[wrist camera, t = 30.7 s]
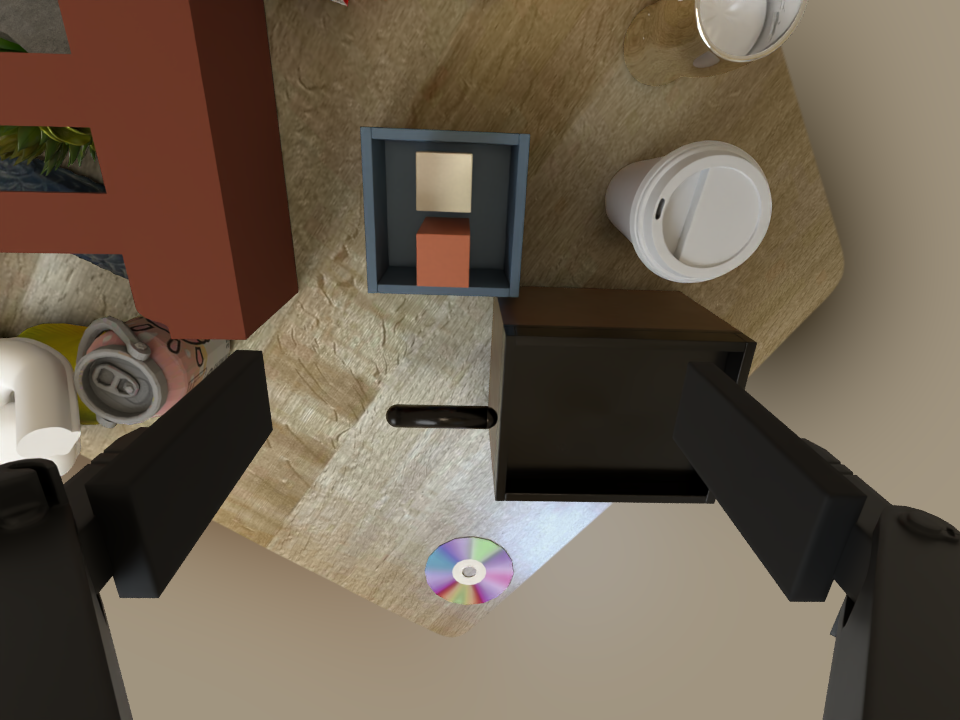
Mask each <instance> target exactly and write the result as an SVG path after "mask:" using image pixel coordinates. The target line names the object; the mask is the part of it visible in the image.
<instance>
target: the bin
mask: <svg viewBox="0 0 960 720" xmlns="http://www.w3.org/2000/svg"><path fill="white" fill-rule="evenodd" d="M360 132H361V154H362V175H363V197H364V218H365V239H366V261H367V282H368V293H391V294H424V295H457V296H489V297H519V286H520V272H521V258H522V244H523V230H524V216H525V201H526V187H527V173H528V159H529V145H530V134H519V133H496V132H474V131H451V130H428V129H405V128H383V127H360ZM417 151H443V152H467V153H472V154H473V167H472V198H471V212H470V213H464V212H437V211H417V210H416V152H417ZM426 217H448V218H469V224H470V263H469V287H468V288H462V287H430V286H417V253H416V234H417V232H418V230H419V228H420V227H421V225H422V223H423V221H424V219H425V218H426Z"/></svg>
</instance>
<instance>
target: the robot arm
mask: <svg viewBox="0 0 960 720" xmlns="http://www.w3.org/2000/svg"><path fill="white" fill-rule="evenodd" d="M272 430H273V428H272V420H271V413H270V406H269V398H268V391H267V383H266V376H265V369H264V361H263V354H262V351H254V350H236V351H235V352H234V353H232V354H231V355H230V356H229V357H228V358H227V359H226V360H224V361H223V362H222V363H221V364H220V365H219V366H218V367H217V368H215V369H214V370H213V371H212V372H211V373H210V374H209V375H208V376H206V377H205V378H204V379H203V380H202V381H201V382H200V383H198V384H197V385H196V386H195V387H194V388H193V389H192V390H191V391H189V392H188V393H187V394H186V395H185V396H184V397H183V398H181V399H180V400H179V401H178V402H177V403H176V404H175V405H174V406H172V407H171V408H170V409H169V410H168V411H167V412H166V413H165V414H163V415H162V416H161V417H160V418H159V419H158V420H157V421H155V422H154V423H153V424H152V425H151V426H150V427H140V428H138V429H136V430H134V431H132V432H130V433H128V434H126V435H124V436H122V437H120V438H118V439H117V440H116V441H115V442H114V443H112V444H111V445H110V446H109V447H108V448H106V449H105V450H104V453H100V454H99V455H98V456H97V457H96V458H94V459H93V460H92V461H91V464H87V465H86V466H85V467H84V468H83V469H81V470H80V471H79V472H78V473H77V474H76V475H74V476H73V477H72V478H71V479H70V480H68V481H67V482H66V483H65V484H63V482H62V479H61V476H60V473H59V470H58V467H57V465H56V464H55V463H54V462H53V461H52V460H48V459H43V458H31V459H22V460H17V461H12V462H7V463H4V464H2V465H0V720H133V718H132V714H131V710H130V706H129V703H128V699H127V695H126V691H125V687H124V683H123V679H122V675H121V672H120V668H119V664H118V660H117V656H116V653H115V648H114V644H113V640H112V637H111V633H110V629H109V625H108V621H107V617H106V613H105V610H104V606H103V602H102V599H101V597H100V593H99V592H100V590H101V589H102V588H103V587H104V586H105V584H106V583H107V582H108V581H109V579H110V578H111V577H112V576H113V578H114V581H115V585H116V588H117V591H118V594H119V597H120V598H159V597H160V595H161V594H162V592H163V591H164V589H165V588H166V586H167V585H168V583H169V582H170V580H171V579H172V577H173V576H174V575H175V573H176V572H177V570H178V569H179V567H180V566H181V564H182V563H183V561H184V560H185V558H186V557H187V555H188V554H189V553H190V551H191V550H192V548H193V547H194V545H195V544H196V542H197V541H198V539H199V538H200V536H201V535H202V533H203V532H204V530H205V529H206V528H207V526H208V525H209V523H210V522H211V520H212V519H213V517H214V516H215V514H216V513H217V511H218V510H219V508H220V507H221V505H222V504H223V503H224V501H225V500H226V498H227V497H228V495H229V494H230V492H231V491H232V489H233V488H234V486H235V485H236V483H237V482H238V480H239V479H240V478H241V476H242V475H243V473H244V472H245V470H246V469H247V467H248V466H249V464H250V463H251V461H252V460H253V458H254V457H255V455H256V454H257V453H258V451H259V450H260V448H261V447H262V445H263V444H264V442H265V441H266V439H267V438H268V436H269V435H270V433H271V432H272ZM672 438H673V440H674V441H675V442H676V444H677V445H678V447H679V448H680V449H681V451H682V452H683V454H684V455H685V456H686V458H687V459H688V461H689V462H690V463H691V465H692V466H693V468H694V469H695V470H696V472H697V473H698V474H699V476H700V477H701V479H702V480H703V481H704V483H705V484H706V486H707V487H708V488H709V490H710V491H711V493H712V494H713V495H714V497H715V498H716V500H717V501H718V502H719V504H720V505H721V506H722V508H723V509H724V511H725V512H726V513H727V515H728V516H729V518H730V519H731V520H732V522H733V523H734V525H735V526H736V527H737V529H738V530H739V532H741V534H742V536H743V537H744V539H745V540H746V541H747V543H748V544H749V545H750V547H751V548H752V550H753V551H754V552H755V554H756V555H757V557H758V558H759V559H760V561H761V562H762V563H763V565H764V566H765V568H766V569H767V570H768V572H769V573H770V575H771V576H772V577H773V579H774V580H775V581H776V583H777V584H778V586H779V587H780V589H781V590H782V591H783V593H784V594H785V596H786V597H787V598H788V600H789V601H790V602H825V600H826V597H827V595H828V592H829V590H830V587H831V585H832V582H833V580H835V581H836V582H837V583H838V584H839V586H840V587H841V588H842V589H843V590H844V592H845V593H846V594H847V595H846V597H845V599H844V602H843V604H842V607H841V609H840V611H839V614H838V616H837V618H836V621H835V623H834V625H833V628H832V630H831V632H830V635H832V636H835V637H836V641H835V648H834V653H833V660H832V666H831V672H830V679H829V684H828V690H827V696H826V702H825V709H824V715H823V720H960V532H959V531H958V530H957V529H956V528H955V527H954V526H952V525H951V524H949V523H947V522H946V521H944V520H942V519H941V518H939V517H937V516H934V515H932V514H929V513H927V512H925V511H922V510H919V509H915V508H911V507H907V506H896V505H892V504H890V503H889V502H888V501H886V499H884V498H883V497H882V496H881V495H879V494H878V493H877V492H876V491H875V490H873V489H872V488H871V487H870V486H869V485H868V484H866V483H865V482H864V481H863V480H862V479H860V478H859V477H858V476H857V475H853V472H852V471H851V470H850V469H848V468H847V467H846V466H845V465H842V464H841V463H840V461H839V460H838V459H836V458H835V457H834V456H833V455H832V454H830V453H829V452H828V451H827V450H825V449H823V448H821V447H820V446H818V445H816V444H814V443H812V442H810V441H809V440H807V439H804V438H800V437H798V436H797V435H796V434H795V433H794V432H793V431H791V430H790V429H789V428H788V427H787V426H786V425H785V424H783V423H782V422H781V421H780V420H779V419H778V418H776V417H775V416H774V415H773V414H772V413H771V412H769V411H768V410H767V409H766V408H765V407H764V406H762V405H761V404H760V403H759V402H758V401H757V400H755V399H754V398H753V397H752V396H751V395H750V394H749V393H747V392H746V391H745V390H744V389H743V388H742V387H740V386H739V385H738V384H737V383H736V382H735V381H733V380H732V379H731V378H730V377H729V376H728V375H727V374H725V373H724V372H723V371H722V370H721V369H720V368H718V367H717V366H716V365H715V364H714V363H713V362H688V365H687V370H686V375H685V379H684V384H683V389H682V394H681V398H680V403H679V408H678V412H677V417H676V422H675V426H674V431H673V436H672Z"/></svg>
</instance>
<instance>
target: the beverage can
mask: <svg viewBox="0 0 960 720" xmlns="http://www.w3.org/2000/svg"><path fill="white" fill-rule="evenodd" d="M109 329H111V330H109ZM105 330H109V331H107V332H106V333H104V334H102V333H103V332H104V331H105ZM101 334H102V335H101ZM100 335H101V336H100ZM229 351H230V340H223V339H171V336H170V332H169V328H168V327H167V326H166V325H164V324H162V323H159V322H156V321H152V320H150V319H147V318H145V317H143V316H142V315H141V314H140V315H138V316H137V317H135V318H133V319H131V320H129V321H127V322H123V321H120V320H118V319H116V318H114V317H111V316H108V317H104V318H100V319H97V320H94V321H93V322H92V323H91V324H90V325H89V327H88V328H87V329H86V330H85V332H84V334H83V336H82V339H81V341H80V343H79V346H78V352H77V359H76V366H75V370H74V375H73V380H74V385H75V390H76V391H77V393H78V395H79V397H80V399H81V401H82V402H83V403H84V404H85V405H86V406H87V407H88V408H89V409H90V410H91V411H92V412H94V413H95V414H96V420H97V421H98V423H99V424H101V425H102V426H104V427H107V428H113V427H115V426H116V424H117V423H119V424H129V425H131V424H136V423H142V422H144V421H146V420H148V419H149V418H152V417H157V416H162V415H163V414H165V413H166V412H167V411H168V410H169V409H170V408H171V407H172V406H174V405H175V404H176V403H177V402H178V401H179V400H180V399H181V398H183V397H184V396H185V395H186V394H187V393H188V392H189V391H191V390H192V389H193V388H194V387H195V386H196V385H197V384H198V383H200V382H201V381H202V380H203V379H204V378H205V377H206V376H208V375H209V374H210V373H211V372H212V371H213V370H214V369H215V368H217V367H218V366H219V365H220V364H221V363H222V362H223V361H224V360H226V359H227V358H228V355H229Z"/></svg>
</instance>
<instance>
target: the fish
mask: <svg viewBox="0 0 960 720" xmlns="http://www.w3.org/2000/svg"><path fill="white" fill-rule="evenodd" d="M87 328H88V327H85V326H78V325H72V324H65V323H51V324H40V325H37V326H34V327H30V328H27V329H26V330H25V331H23V332H22V333H21V334H20V335H18V336H17V337H21V338H29V339H33V340H36V341H39V342H42V343H44V344H46V345H48V346H50V347H52V348H53V349H55V350H57V351H58V352H59V353H61V354H62V355H63V356H64V357H65V358H66V359H67V360H68V361H69V362H70V364H71V366H72V368H73V371H74V370H75V366H76V359H77V352H78V346H79V343H80V341H81V339H82V336H83V334H84V332H85V330H86V329H87ZM104 333H106V332H103V333H102V334H104ZM102 334H101V335H102ZM101 335H100V336H101ZM77 398H78V407H79V418H80V424H82V425H96V424H99V423H98V421H97V420H96V414H95V413H94V412H92V411H91V410H90V409H89V408H88V407H87V406H86V405H85V404H84V403H83V402H82V401H81V399H80V397H79V395H78V393H77Z"/></svg>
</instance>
